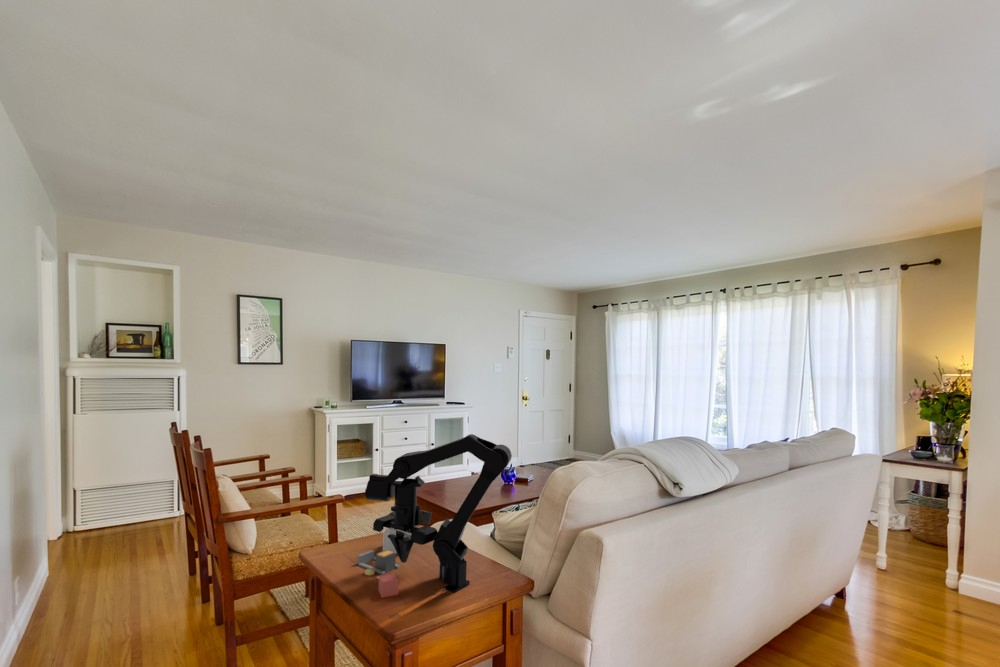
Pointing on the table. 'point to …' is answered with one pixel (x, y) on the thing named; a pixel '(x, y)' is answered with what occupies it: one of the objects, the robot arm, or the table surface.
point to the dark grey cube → (385, 560)
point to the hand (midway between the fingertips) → (403, 562)
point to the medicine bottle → (388, 539)
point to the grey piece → (368, 557)
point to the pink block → (388, 585)
